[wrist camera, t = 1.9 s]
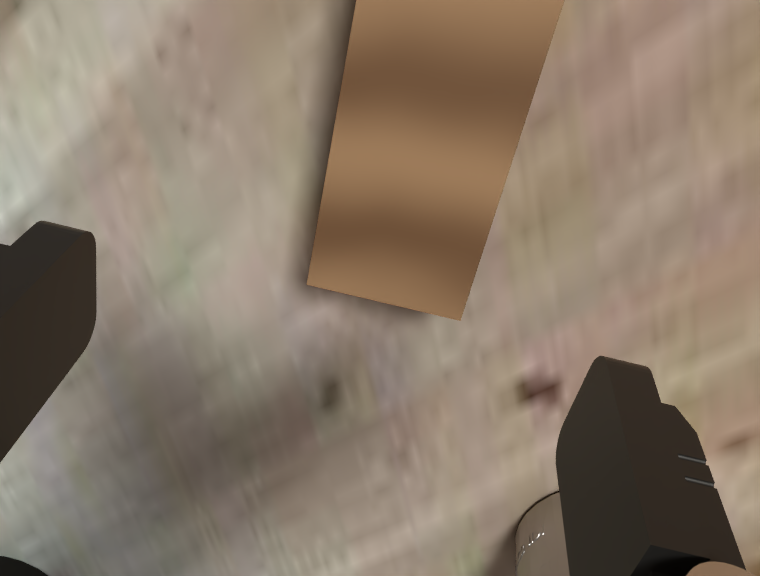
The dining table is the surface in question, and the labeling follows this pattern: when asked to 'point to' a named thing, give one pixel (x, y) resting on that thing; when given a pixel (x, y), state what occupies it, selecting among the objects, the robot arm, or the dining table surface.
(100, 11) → the dining table surface
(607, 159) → the dining table surface
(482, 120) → the plank
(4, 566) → the wine bottle
